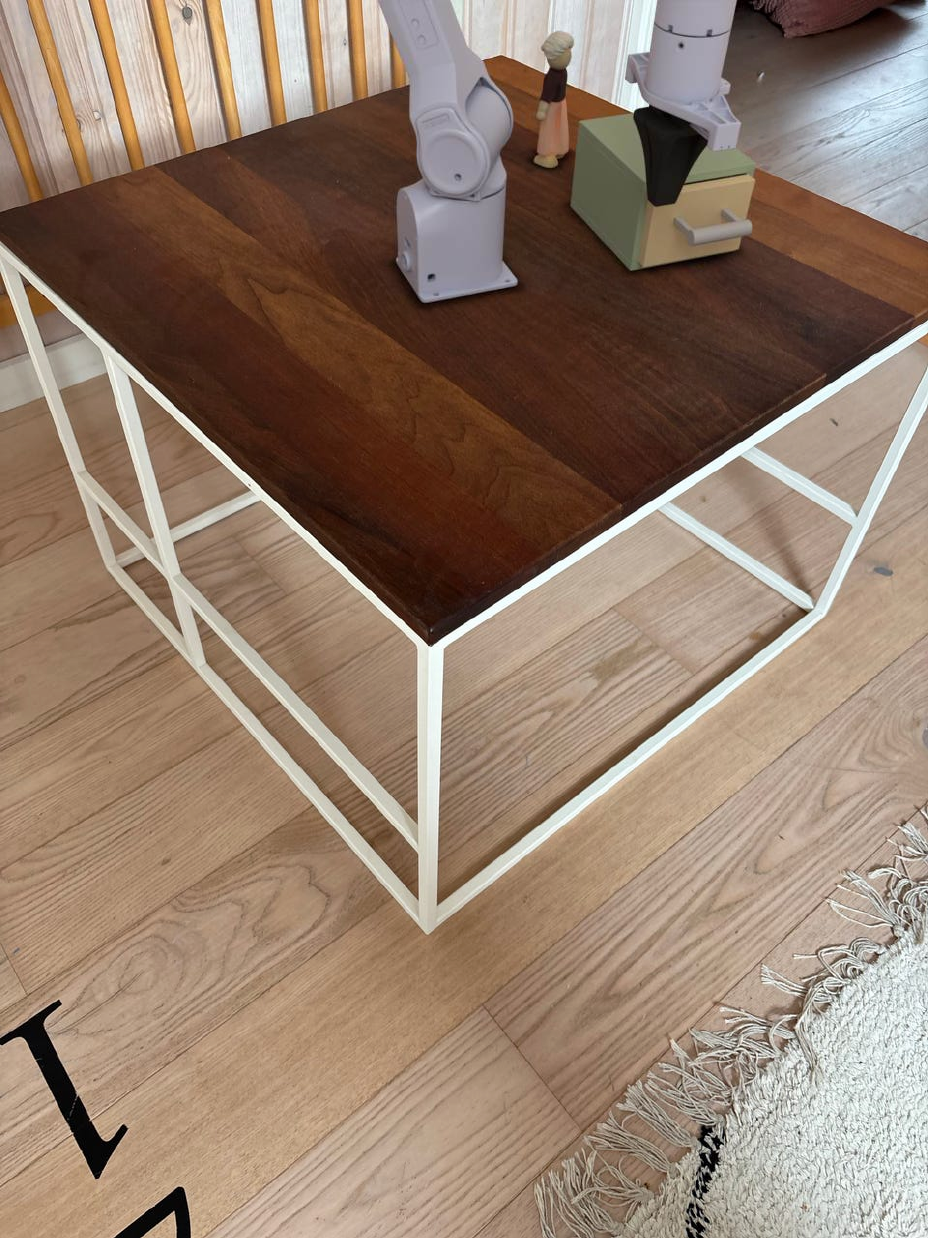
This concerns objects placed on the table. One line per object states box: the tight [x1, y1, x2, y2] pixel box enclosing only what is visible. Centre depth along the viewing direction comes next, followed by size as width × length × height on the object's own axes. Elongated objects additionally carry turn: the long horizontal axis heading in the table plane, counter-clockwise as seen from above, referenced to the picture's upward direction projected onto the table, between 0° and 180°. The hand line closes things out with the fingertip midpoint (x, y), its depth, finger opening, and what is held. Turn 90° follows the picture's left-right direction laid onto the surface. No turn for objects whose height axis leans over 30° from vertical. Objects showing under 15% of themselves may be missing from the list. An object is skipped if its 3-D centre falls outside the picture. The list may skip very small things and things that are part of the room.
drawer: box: [638, 174, 756, 268], centre depth 95 cm, size 17×10×7 cm, turn 21°
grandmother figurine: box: [533, 30, 575, 169], centre depth 106 cm, size 8×4×13 cm, turn 168°
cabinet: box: [570, 112, 757, 272], centre depth 97 cm, size 14×12×9 cm
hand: (661, 201), depth 84 cm, fingers closed
